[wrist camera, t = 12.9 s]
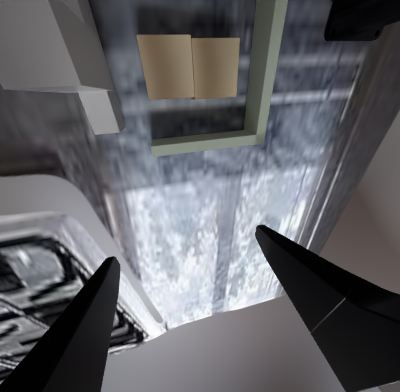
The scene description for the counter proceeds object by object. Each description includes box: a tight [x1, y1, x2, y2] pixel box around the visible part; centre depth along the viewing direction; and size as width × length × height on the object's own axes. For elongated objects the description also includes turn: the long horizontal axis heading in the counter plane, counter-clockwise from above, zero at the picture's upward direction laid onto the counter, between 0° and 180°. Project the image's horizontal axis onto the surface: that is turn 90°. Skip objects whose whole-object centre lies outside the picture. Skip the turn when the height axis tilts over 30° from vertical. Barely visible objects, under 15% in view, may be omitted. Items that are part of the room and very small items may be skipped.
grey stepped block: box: [0, 0, 126, 135], centre depth 10 cm, size 3×9×9 cm, turn 3°
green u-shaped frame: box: [151, 0, 288, 157], centre depth 13 cm, size 12×14×3 cm
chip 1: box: [136, 35, 195, 100], centre depth 13 cm, size 4×4×2 cm
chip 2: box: [191, 38, 240, 99], centre depth 14 cm, size 4×4×2 cm
